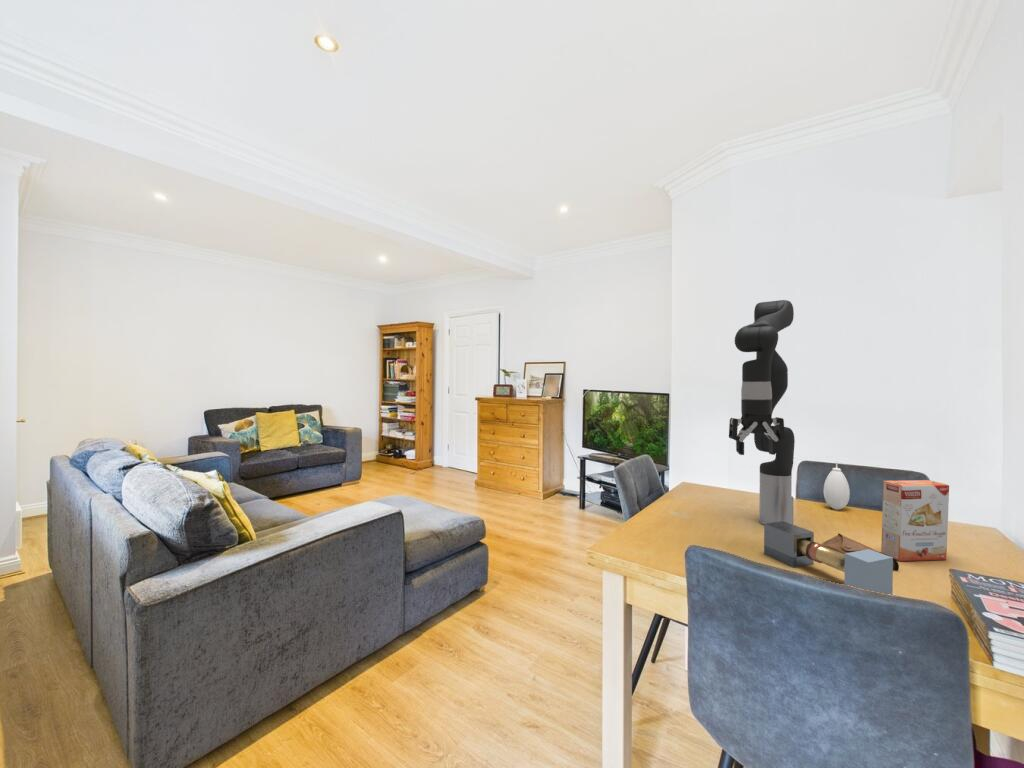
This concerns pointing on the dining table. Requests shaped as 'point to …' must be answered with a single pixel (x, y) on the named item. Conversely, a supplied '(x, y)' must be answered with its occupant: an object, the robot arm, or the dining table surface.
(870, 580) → the socket
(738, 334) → the robot arm
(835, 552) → the rod
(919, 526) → the cracker box
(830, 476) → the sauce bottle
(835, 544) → the sunglasses case
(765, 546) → the sleeve
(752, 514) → the dining table surface
